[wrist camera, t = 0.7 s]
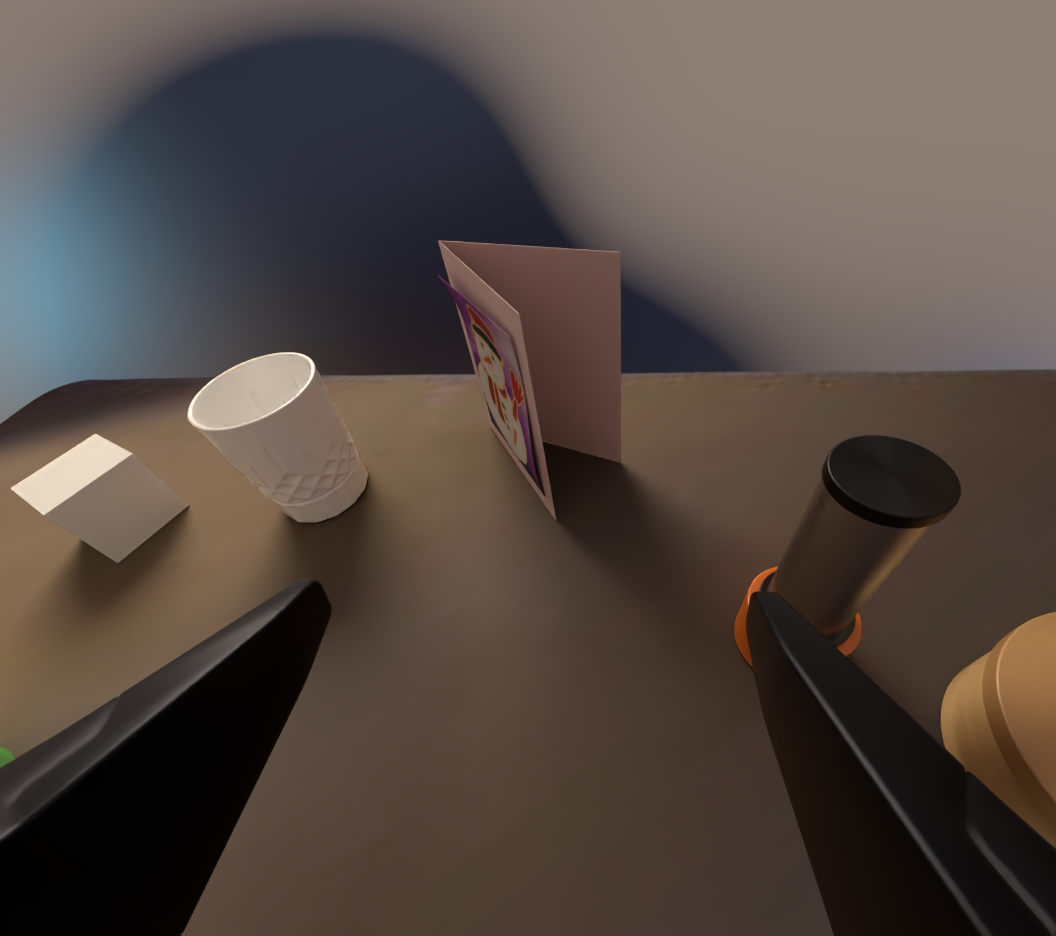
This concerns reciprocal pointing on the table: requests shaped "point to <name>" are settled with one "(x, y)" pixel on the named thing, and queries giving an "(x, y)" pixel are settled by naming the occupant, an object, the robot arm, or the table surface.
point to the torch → (856, 533)
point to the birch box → (1010, 722)
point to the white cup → (283, 434)
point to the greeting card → (543, 347)
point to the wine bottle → (5, 756)
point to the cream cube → (102, 497)
